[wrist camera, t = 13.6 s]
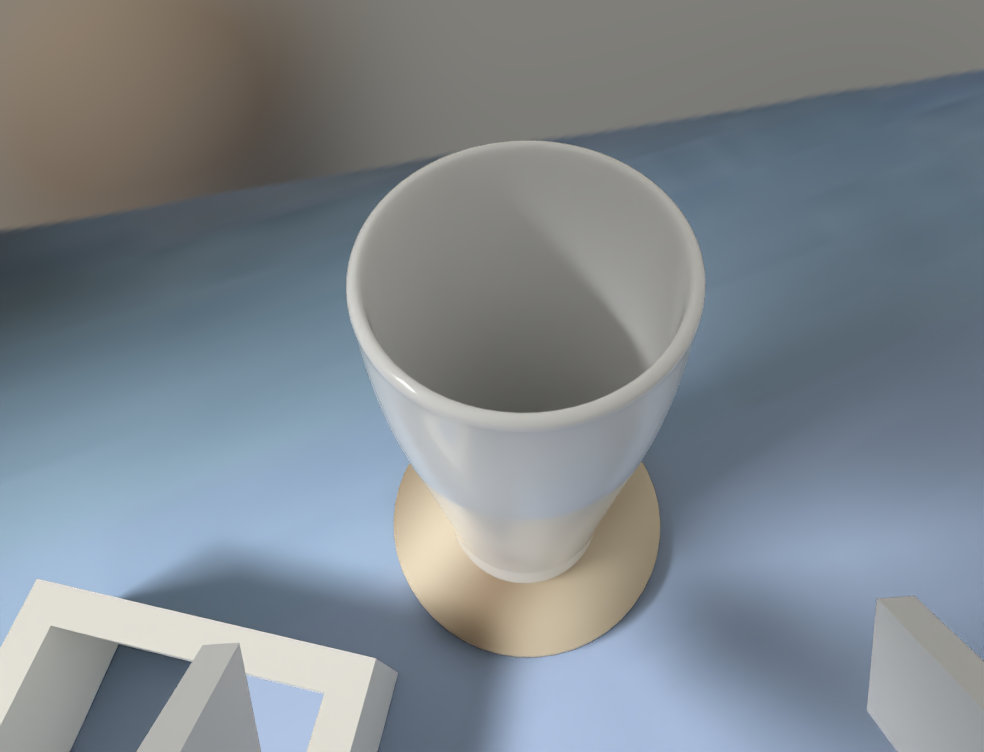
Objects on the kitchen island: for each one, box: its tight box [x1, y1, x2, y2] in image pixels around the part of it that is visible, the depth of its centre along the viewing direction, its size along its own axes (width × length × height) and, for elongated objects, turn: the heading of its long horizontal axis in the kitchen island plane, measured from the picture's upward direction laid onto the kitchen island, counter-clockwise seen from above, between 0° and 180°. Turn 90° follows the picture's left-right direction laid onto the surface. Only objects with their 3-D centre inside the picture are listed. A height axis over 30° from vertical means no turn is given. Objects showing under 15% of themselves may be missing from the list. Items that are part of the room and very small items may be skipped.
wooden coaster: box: [394, 462, 660, 658], centre depth 26 cm, size 10×10×1 cm
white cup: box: [346, 140, 706, 584], centre depth 19 cm, size 7×7×15 cm
